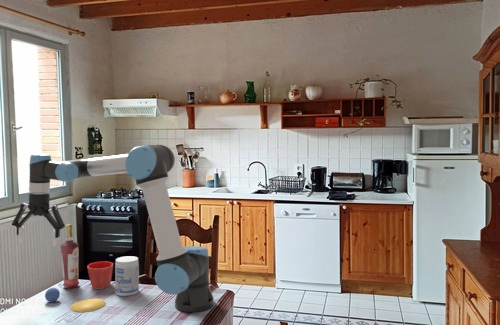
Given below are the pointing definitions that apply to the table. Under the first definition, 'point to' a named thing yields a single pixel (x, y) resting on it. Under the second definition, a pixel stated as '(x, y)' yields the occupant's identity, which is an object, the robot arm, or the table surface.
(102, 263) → the flower pot
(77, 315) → the table surface
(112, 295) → the table surface
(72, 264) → the liquor
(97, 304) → the disc
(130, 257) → the supplement tub
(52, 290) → the ball
